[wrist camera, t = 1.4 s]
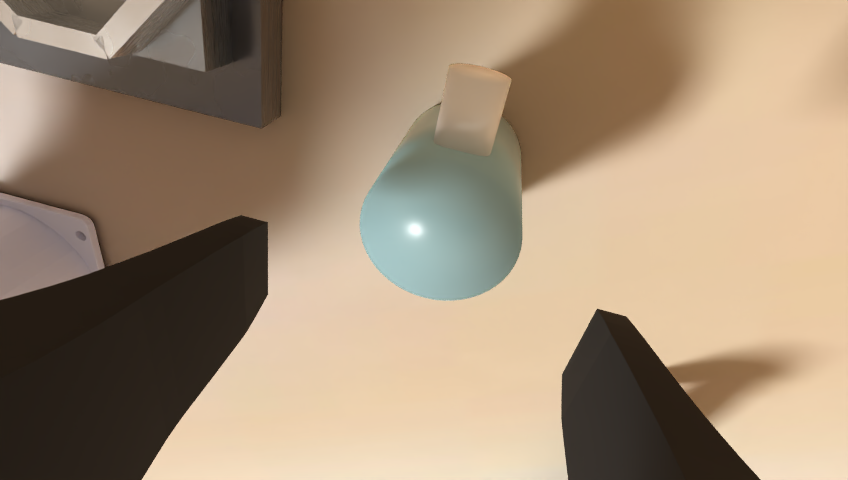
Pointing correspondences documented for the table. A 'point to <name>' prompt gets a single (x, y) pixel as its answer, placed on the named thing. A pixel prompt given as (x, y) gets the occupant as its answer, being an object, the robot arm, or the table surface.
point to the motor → (156, 50)
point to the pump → (450, 194)
